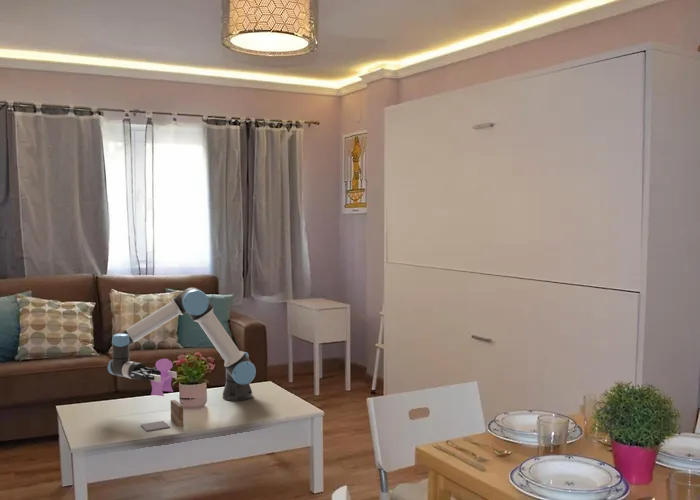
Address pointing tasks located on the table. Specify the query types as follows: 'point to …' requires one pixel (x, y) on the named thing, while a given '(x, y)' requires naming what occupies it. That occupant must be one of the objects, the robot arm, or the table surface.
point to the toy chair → (162, 378)
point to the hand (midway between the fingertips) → (168, 377)
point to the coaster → (155, 426)
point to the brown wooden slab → (177, 412)
